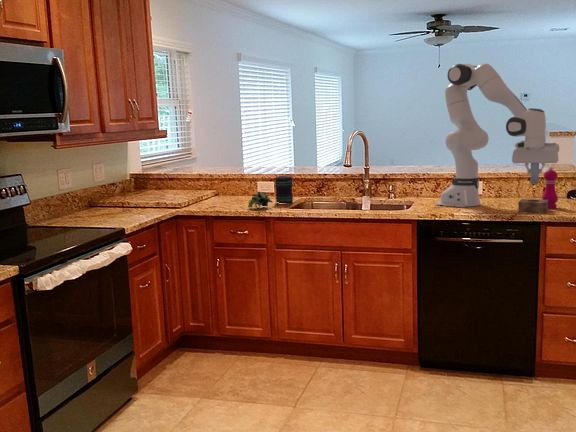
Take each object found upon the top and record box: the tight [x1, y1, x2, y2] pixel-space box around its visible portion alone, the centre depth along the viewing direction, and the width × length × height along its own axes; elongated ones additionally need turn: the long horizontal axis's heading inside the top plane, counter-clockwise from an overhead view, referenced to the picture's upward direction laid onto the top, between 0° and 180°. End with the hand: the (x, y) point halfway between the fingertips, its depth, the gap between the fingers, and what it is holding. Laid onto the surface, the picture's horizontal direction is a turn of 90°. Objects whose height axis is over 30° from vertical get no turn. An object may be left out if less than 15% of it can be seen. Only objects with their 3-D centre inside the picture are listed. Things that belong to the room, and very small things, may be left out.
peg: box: [530, 163, 540, 185], centre depth 284 cm, size 4×4×10 cm
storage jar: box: [274, 175, 294, 204], centre depth 343 cm, size 10×10×15 cm
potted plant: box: [247, 191, 273, 209], centre depth 328 cm, size 11×11×12 cm
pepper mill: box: [541, 166, 559, 210], centre depth 293 cm, size 7×7×20 cm
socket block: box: [517, 198, 549, 214], centre depth 287 cm, size 12×10×5 cm
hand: (534, 172), depth 284 cm, fingers closed on peg, 4 cm apart
